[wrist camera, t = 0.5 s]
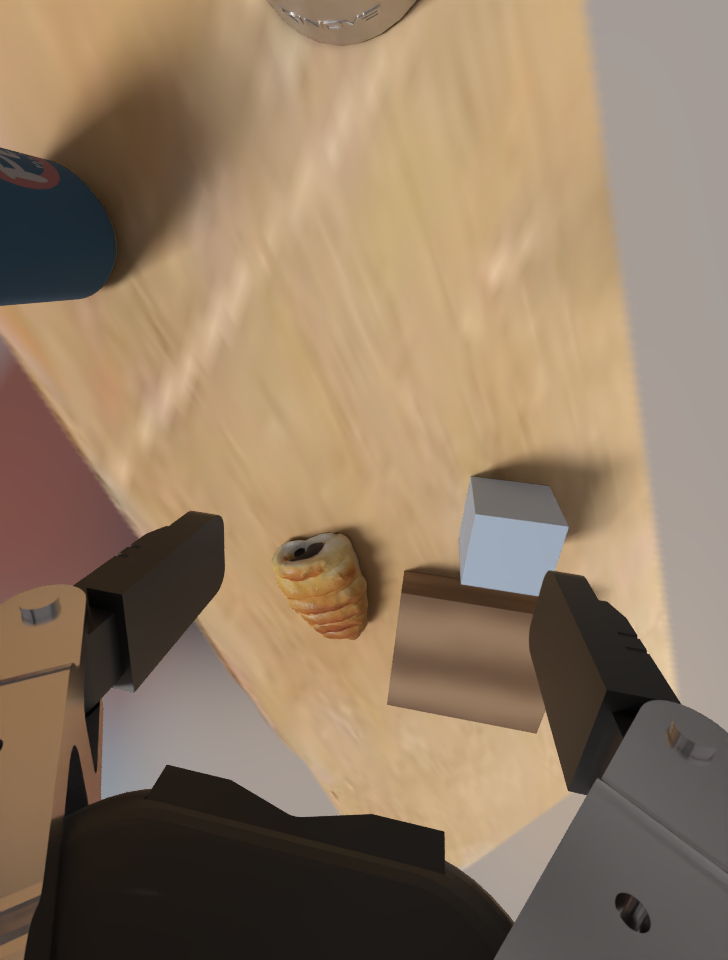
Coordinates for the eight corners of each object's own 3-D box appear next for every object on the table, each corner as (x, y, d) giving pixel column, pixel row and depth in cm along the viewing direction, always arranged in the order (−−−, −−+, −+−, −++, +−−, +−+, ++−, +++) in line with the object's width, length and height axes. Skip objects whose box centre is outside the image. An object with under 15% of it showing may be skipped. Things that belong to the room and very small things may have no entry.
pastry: (389, 618, 35) (383, 655, 32) (316, 629, 37) (302, 665, 34) (348, 523, 32) (336, 553, 28) (270, 541, 34) (250, 571, 31)
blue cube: (470, 475, 28) (475, 514, 24) (549, 485, 28) (569, 526, 23) (458, 538, 31) (460, 584, 26) (531, 548, 30) (545, 597, 26)
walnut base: (404, 566, 33) (401, 593, 30) (568, 591, 32) (579, 621, 29) (391, 674, 38) (387, 704, 36) (529, 700, 37) (536, 733, 34)
